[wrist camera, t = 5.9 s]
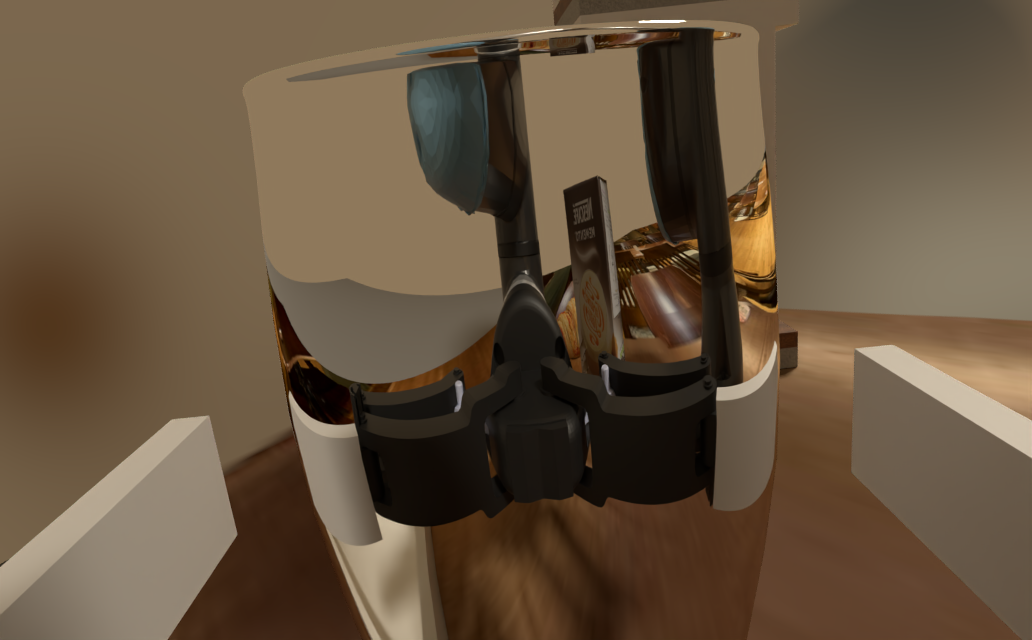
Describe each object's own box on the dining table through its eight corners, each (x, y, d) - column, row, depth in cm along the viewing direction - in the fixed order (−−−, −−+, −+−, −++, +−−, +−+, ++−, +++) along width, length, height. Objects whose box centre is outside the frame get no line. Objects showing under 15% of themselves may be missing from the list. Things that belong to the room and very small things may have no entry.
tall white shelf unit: (797, 366, 38) (800, -415, 29) (607, 388, 38) (550, -391, 29) (727, 314, 49) (713, -264, 40) (579, 331, 49) (532, -246, 40)
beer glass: (323, 963, 13) (110, 102, 9) (538, 697, 18) (467, 91, 14) (687, 1321, 8) (599, -19, 4) (825, 837, 14) (841, 32, 10)
